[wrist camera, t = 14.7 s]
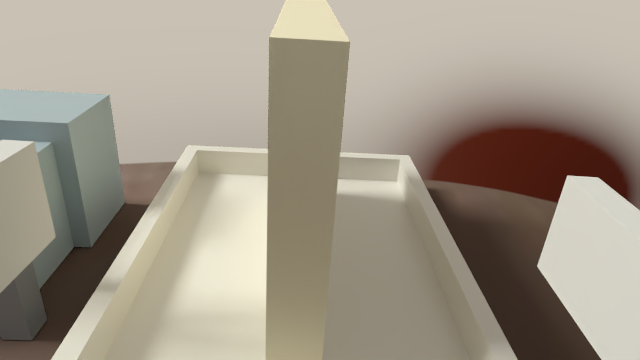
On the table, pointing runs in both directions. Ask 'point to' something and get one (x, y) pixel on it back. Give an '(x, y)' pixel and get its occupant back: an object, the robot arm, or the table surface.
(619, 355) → the robot arm
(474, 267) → the table surface
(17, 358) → the table surface
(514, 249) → the table surface
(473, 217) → the table surface
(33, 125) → the door frame
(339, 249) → the tray
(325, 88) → the cream rectangular board
